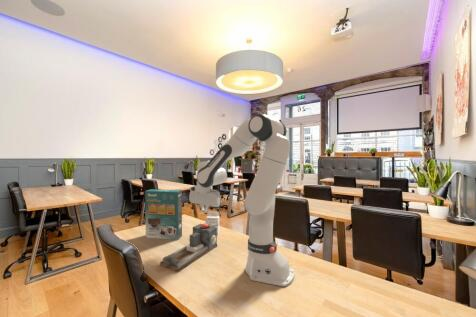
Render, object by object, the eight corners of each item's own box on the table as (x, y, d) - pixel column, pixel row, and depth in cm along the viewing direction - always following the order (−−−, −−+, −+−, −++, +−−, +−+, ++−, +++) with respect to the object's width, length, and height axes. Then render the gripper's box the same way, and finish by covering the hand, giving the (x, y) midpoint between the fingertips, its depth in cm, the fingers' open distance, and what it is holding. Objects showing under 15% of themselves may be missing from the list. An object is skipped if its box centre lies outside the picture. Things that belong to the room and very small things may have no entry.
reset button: (209, 226, 127) (209, 224, 126) (205, 228, 123) (205, 226, 123) (204, 225, 128) (204, 223, 128) (199, 227, 125) (199, 225, 125)
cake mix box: (182, 235, 142) (181, 190, 141) (178, 239, 136) (177, 192, 135) (150, 233, 145) (150, 189, 144) (145, 237, 139) (145, 190, 138)
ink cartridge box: (205, 234, 144) (205, 212, 144) (207, 232, 149) (207, 210, 149) (218, 235, 143) (218, 213, 143) (219, 232, 148) (219, 211, 148)
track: (217, 246, 127) (217, 227, 126) (178, 272, 100) (178, 247, 99) (201, 242, 133) (201, 223, 132) (160, 265, 106) (159, 241, 105)
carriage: (203, 248, 120) (203, 233, 119) (196, 253, 114) (196, 237, 114) (193, 246, 123) (193, 231, 123) (186, 250, 118) (186, 234, 118)
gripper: (222, 189, 123) (222, 213, 123) (194, 185, 133) (194, 208, 133) (216, 191, 117) (215, 216, 118) (187, 187, 127) (187, 210, 128)
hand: (204, 212), depth 126 cm, fingers closed
